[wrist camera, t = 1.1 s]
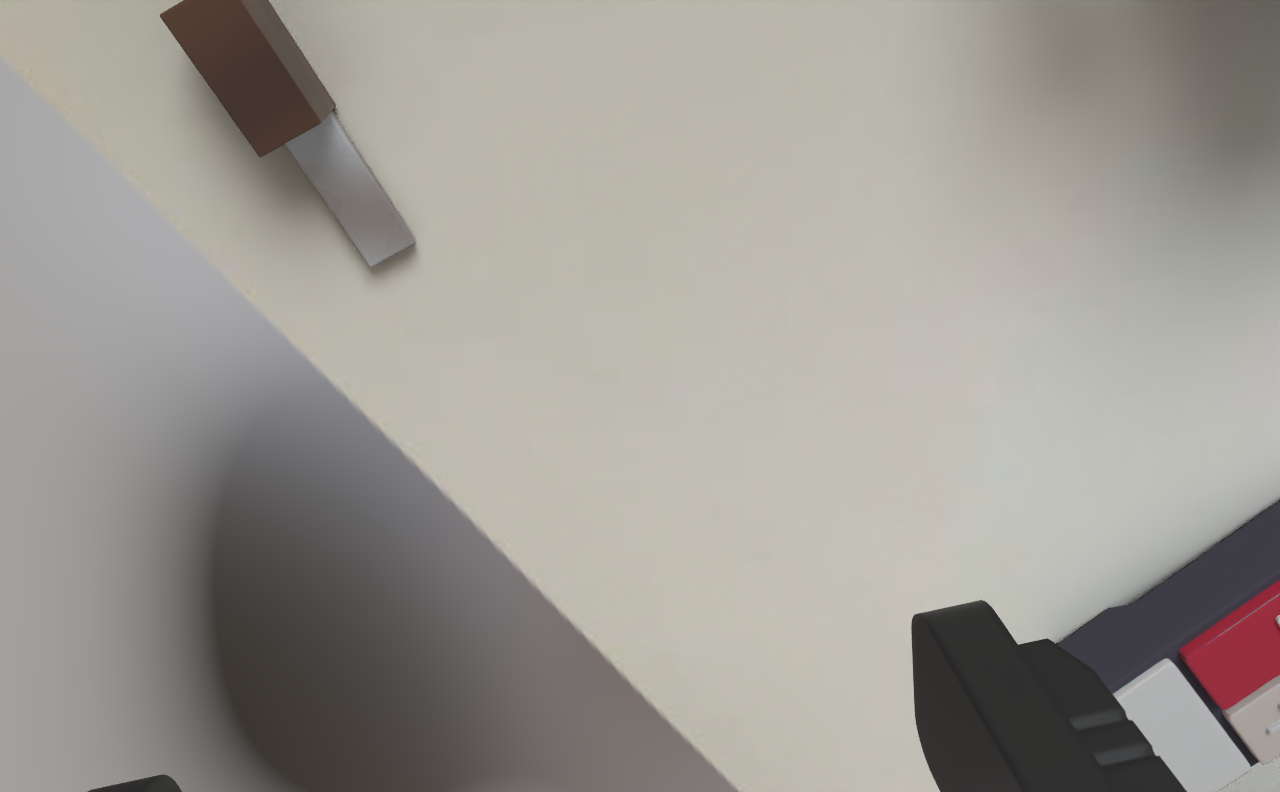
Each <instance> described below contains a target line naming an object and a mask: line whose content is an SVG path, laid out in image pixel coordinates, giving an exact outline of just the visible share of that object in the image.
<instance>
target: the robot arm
mask: <svg viewBox="0 0 1280 792" xmlns="http://www.w3.org/2000/svg"><path fill="white" fill-rule="evenodd" d="M912 654H913V679H914V704H915V718H916V725H917V730H918V734H919V738H920V742H921V746H922V749H923V752H924V755H925V758H926V761H927V763H928V766H929V768H930V771H931V773H932V775H933V777H934V779H935V781H936V784H937V786H938V788H939V790H940V792H1187V791H1186V790H1185V788H1184V787H1183V786H1182V784H1181V783H1180V782H1179V781H1178V779H1177V778H1176V777H1175V775H1174V774H1173V773H1172V771H1171V770H1170V769H1169V767H1168V766H1167V765H1166V764H1165V762H1164V761H1163V760H1162V758H1161V757H1160V756H1156V755H1155V754H1154V752H1153V748H1152V745H1151V744H1150V743H1149V741H1148V740H1147V739H1146V737H1145V736H1144V735H1143V733H1142V732H1141V731H1140V729H1139V728H1138V727H1137V726H1136V724H1135V723H1134V722H1133V720H1128V718H1127V716H1126V711H1125V710H1124V709H1123V707H1122V706H1121V705H1120V703H1119V702H1118V701H1117V699H1116V698H1115V697H1114V695H1113V694H1112V693H1111V691H1110V690H1109V689H1108V688H1107V686H1106V685H1105V684H1104V682H1103V681H1102V680H1101V678H1100V677H1099V676H1098V674H1097V673H1096V672H1095V671H1094V669H1092V668H1091V667H1089V666H1088V665H1086V664H1085V663H1083V662H1082V661H1080V660H1079V659H1077V658H1076V657H1074V656H1073V655H1071V654H1070V653H1068V652H1067V651H1065V650H1064V649H1062V648H1061V647H1059V646H1058V645H1057V644H1055V643H1054V642H1052V641H1051V640H1049V639H1048V638H1047V639H1043V640H1038V641H1034V642H1029V643H1024V644H1020V645H1018V644H1017V643H1016V641H1015V640H1014V639H1013V637H1012V636H1011V634H1010V633H1009V631H1008V630H1007V628H1006V627H1005V625H1004V624H1003V623H1002V621H1001V620H1000V618H999V617H998V615H997V614H996V612H995V611H994V610H993V608H992V607H991V606H990V605H989V604H988V603H987V602H985V601H982V600H980V601H975V602H970V603H966V604H961V605H957V606H952V607H947V608H943V609H938V610H933V611H929V612H924V613H920V614H915V615H914V616H913V619H912ZM88 792H182V791H181V790H180V788H179V786H178V785H177V783H176V782H175V781H174V780H173V779H172V778H171V777H169V776H167V775H158V776H153V777H149V778H144V779H140V780H135V781H130V782H126V783H121V784H116V785H112V786H107V787H102V788H98V789H93V790H90V791H88Z"/></svg>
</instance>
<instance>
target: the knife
mask: <svg viewBox="0 0 1280 792" xmlns="http://www.w3.org/2000/svg"><path fill="white" fill-rule="evenodd" d="M160 17H161V19H162V20H163V21H164V23H165V24H166V26H167V27H168V28H169V30H170V31H171V33H172V34H173V36H174V37H175V38H176V40H177V41H178V43H179V44H180V45H181V47H182V48H183V50H184V51H185V52H186V54H187V55H188V57H189V58H190V60H191V61H192V62H193V64H194V65H195V67H196V68H197V69H198V71H199V72H200V74H201V75H202V76H203V78H204V79H205V81H206V82H207V84H208V85H209V86H210V88H211V89H212V91H213V92H214V93H215V95H216V96H217V98H218V99H219V100H220V102H221V103H222V105H223V106H224V108H225V109H226V110H227V112H228V113H229V115H230V116H231V117H232V119H233V120H234V122H235V123H236V124H237V126H238V127H239V129H240V130H241V132H242V133H243V134H244V136H245V137H246V139H247V140H248V141H249V143H250V144H251V146H252V147H253V148H254V150H255V151H256V153H257V154H258V156H260V157H262V156H264V155H266V154H267V153H269V152H271V151H273V150H275V149H276V148H278V147H280V146H282V145H283V144H285V145H286V146H287V148H288V149H289V150H290V152H291V153H292V155H293V156H294V158H295V159H296V161H297V162H298V164H299V165H300V166H301V168H302V169H303V171H304V172H305V174H306V175H307V177H308V178H309V179H310V181H311V182H312V184H313V185H314V187H315V188H316V190H317V191H318V193H319V194H320V195H321V197H322V198H323V200H324V201H325V203H326V204H327V206H328V207H329V209H330V210H331V211H332V213H333V214H334V216H335V217H336V219H337V220H338V222H339V223H340V224H341V226H342V227H343V229H344V230H345V232H346V233H347V235H348V236H349V238H350V239H351V240H352V242H353V243H354V245H355V246H356V248H357V249H358V251H359V252H360V253H361V255H362V256H363V258H364V259H365V261H366V262H367V264H368V265H369V266H370V267H372V266H374V265H376V264H378V263H380V262H382V261H384V260H385V259H387V258H389V257H391V256H393V255H395V254H397V253H399V252H400V251H402V250H404V249H406V248H408V247H410V246H412V245H413V244H414V242H415V237H414V235H413V234H412V232H411V231H410V229H409V228H408V226H407V224H406V223H405V221H404V220H403V218H402V217H401V215H400V214H399V212H398V211H397V209H396V208H395V206H394V205H393V203H392V201H391V200H390V198H389V197H388V195H387V194H386V192H385V191H384V189H383V188H382V186H381V185H380V183H379V181H378V180H377V178H376V177H375V175H374V174H373V172H372V171H371V169H370V168H369V166H368V165H367V163H366V162H365V160H364V158H363V157H362V155H361V154H360V152H359V151H358V149H357V148H356V146H355V145H354V143H353V142H352V140H351V139H350V137H349V135H348V134H347V132H346V131H345V129H344V128H343V126H342V125H341V123H340V122H339V120H338V119H337V117H336V116H335V114H334V112H333V111H332V110H333V109H334V107H335V106H336V104H335V103H334V101H333V100H332V98H331V97H330V95H329V93H328V92H327V90H326V89H325V87H324V86H323V84H322V83H321V81H320V80H319V78H318V76H317V75H316V73H315V72H314V70H313V69H312V67H311V66H310V64H309V63H308V61H307V60H306V58H305V56H304V55H303V53H302V52H301V50H300V49H299V47H298V46H297V44H296V43H295V41H294V39H293V38H292V36H291V35H290V33H289V32H288V30H287V29H286V27H285V26H284V24H283V22H282V21H281V19H280V18H279V16H278V15H277V13H276V12H275V10H274V9H273V7H272V5H271V4H270V2H269V1H268V0H184V1H182V2H180V3H178V4H177V5H175V6H173V7H172V8H170V9H168V10H167V11H165V12H163V13H161V14H160Z"/></svg>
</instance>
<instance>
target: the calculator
mask: <svg viewBox="0 0 1280 792" xmlns="http://www.w3.org/2000/svg"><path fill="white" fill-rule="evenodd" d="M1057 645H1058V646H1059V647H1061V648H1062V649H1064V650H1065V651H1067V652H1068V653H1070V654H1071V655H1073V656H1074V657H1076V658H1077V659H1079V660H1080V661H1082V662H1083V663H1085V664H1086V665H1088V666H1089V667H1091V668H1092V669H1094V671H1095V672H1096V673H1097V674H1098V676H1099V677H1100V678H1101V680H1102V681H1103V682H1104V684H1105V685H1106V686H1107V688H1108V689H1109V690H1110V691H1111V693H1112V694H1113V695H1114V697H1115V698H1116V699H1117V701H1118V702H1119V703H1120V705H1121V706H1122V707H1123V709H1124V710H1125V711H1126V716H1127V718H1128V720H1133V722H1134V723H1135V724H1136V726H1137V727H1138V728H1139V729H1140V731H1141V732H1142V733H1143V735H1144V736H1145V737H1146V739H1147V740H1148V741H1149V743H1150V744H1151V745H1152V748H1153V752H1154V754H1155V755H1156V756H1160V757H1161V758H1162V760H1163V761H1164V762H1165V764H1166V765H1167V766H1168V767H1169V769H1170V770H1171V771H1172V773H1173V774H1174V775H1175V777H1176V778H1177V779H1178V781H1179V782H1180V783H1181V784H1182V786H1183V787H1184V788H1185V790H1186V791H1187V792H1218V791H1219V790H1221V789H1222V788H1224V787H1226V786H1227V785H1229V784H1230V783H1232V782H1233V781H1235V780H1236V779H1238V778H1239V777H1241V776H1242V775H1244V774H1245V773H1247V772H1248V771H1249V770H1250V768H1251V766H1253V765H1255V764H1256V763H1258V762H1260V763H1262V764H1267V763H1269V762H1271V761H1273V760H1274V759H1276V758H1277V757H1279V756H1280V501H1278V502H1277V503H1275V504H1274V505H1273V506H1271V507H1270V508H1268V509H1267V510H1266V511H1264V512H1263V513H1261V514H1260V515H1258V516H1257V517H1256V518H1254V519H1253V520H1251V521H1250V522H1249V523H1247V524H1246V525H1244V526H1243V527H1242V528H1240V529H1239V530H1237V531H1236V532H1234V533H1233V534H1232V535H1230V536H1229V537H1227V538H1226V539H1225V540H1223V541H1222V542H1220V543H1219V544H1217V545H1216V546H1215V547H1213V548H1212V549H1210V550H1209V551H1208V552H1206V553H1205V554H1203V555H1202V556H1200V557H1199V558H1198V559H1196V560H1195V561H1193V562H1192V563H1191V564H1189V565H1188V566H1186V567H1185V568H1183V569H1182V570H1181V571H1179V572H1178V573H1176V574H1175V575H1174V576H1172V577H1171V578H1169V579H1168V580H1166V581H1165V582H1164V583H1162V584H1161V585H1159V586H1158V587H1157V588H1155V589H1154V590H1152V591H1151V592H1150V593H1148V594H1147V595H1145V596H1144V597H1142V598H1141V599H1139V600H1138V601H1137V602H1135V603H1134V604H1131V605H1126V606H1120V607H1114V608H1109V609H1107V610H1105V611H1104V612H1102V613H1101V614H1100V615H1098V616H1097V617H1095V618H1094V619H1092V620H1091V621H1090V622H1088V623H1087V624H1085V625H1084V626H1083V627H1081V628H1080V629H1078V630H1077V631H1076V632H1074V633H1073V634H1071V635H1070V636H1069V637H1067V638H1066V639H1064V640H1063V641H1061V642H1060V643H1059V644H1057Z"/></svg>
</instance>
